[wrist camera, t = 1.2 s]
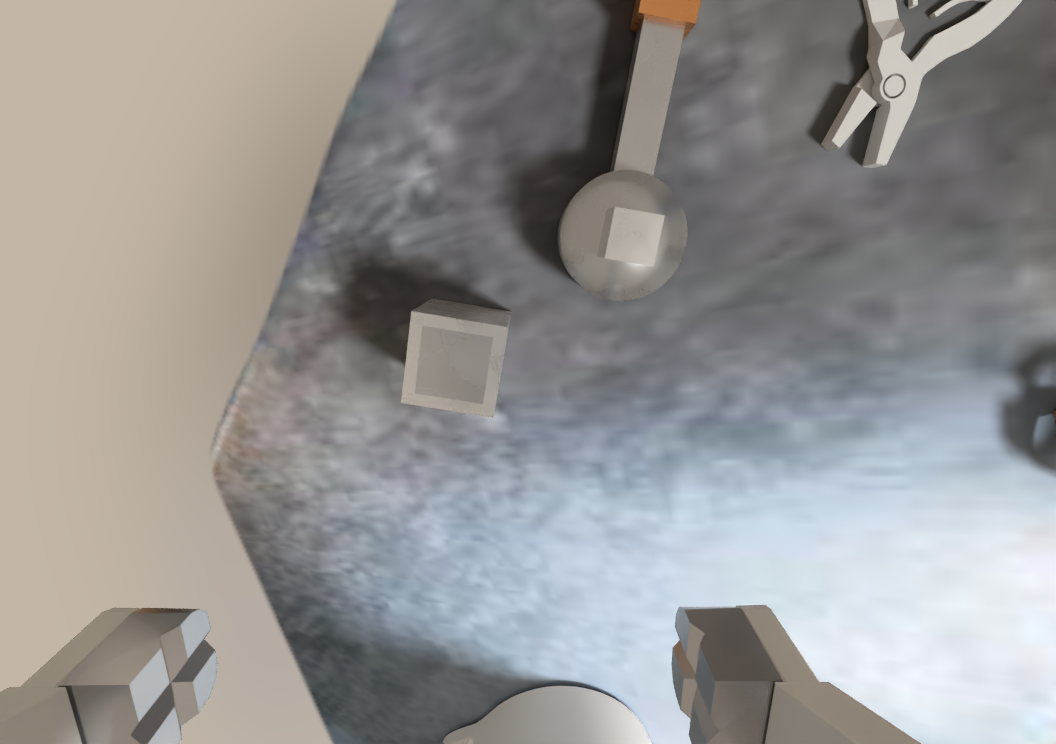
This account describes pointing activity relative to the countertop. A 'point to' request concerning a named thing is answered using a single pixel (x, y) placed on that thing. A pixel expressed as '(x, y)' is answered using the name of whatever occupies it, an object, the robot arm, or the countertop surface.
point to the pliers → (902, 71)
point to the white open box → (455, 357)
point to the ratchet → (633, 174)
